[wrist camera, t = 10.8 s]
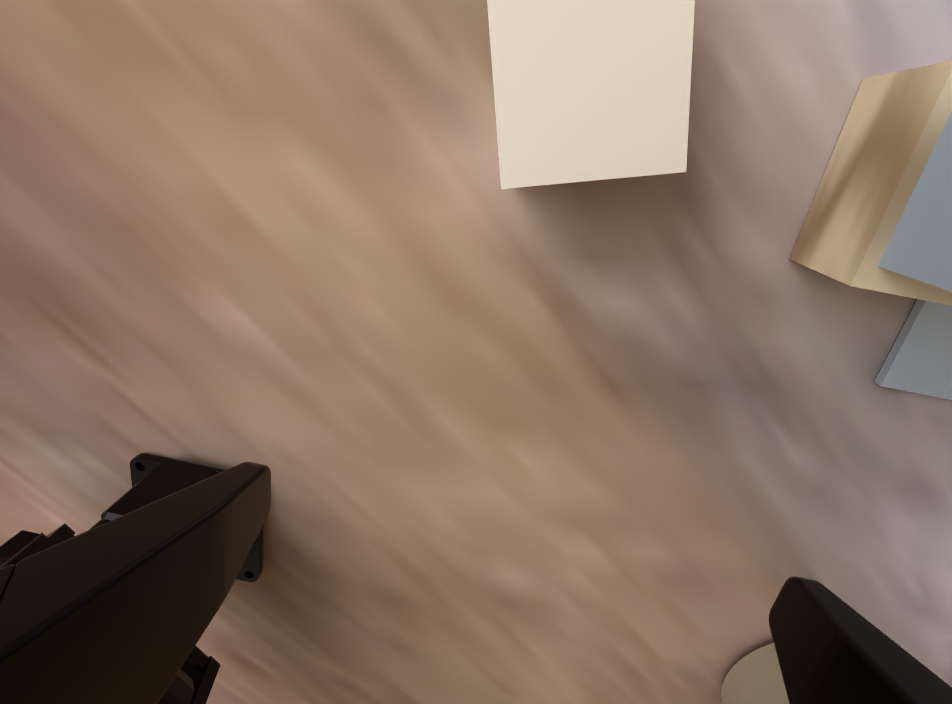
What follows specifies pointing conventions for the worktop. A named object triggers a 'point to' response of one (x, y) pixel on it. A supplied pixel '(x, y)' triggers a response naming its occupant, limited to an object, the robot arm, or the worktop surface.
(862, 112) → the birch block
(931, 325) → the tile
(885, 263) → the blue cube
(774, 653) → the travel mug
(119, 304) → the worktop surface
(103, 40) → the worktop surface
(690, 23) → the cream cube
